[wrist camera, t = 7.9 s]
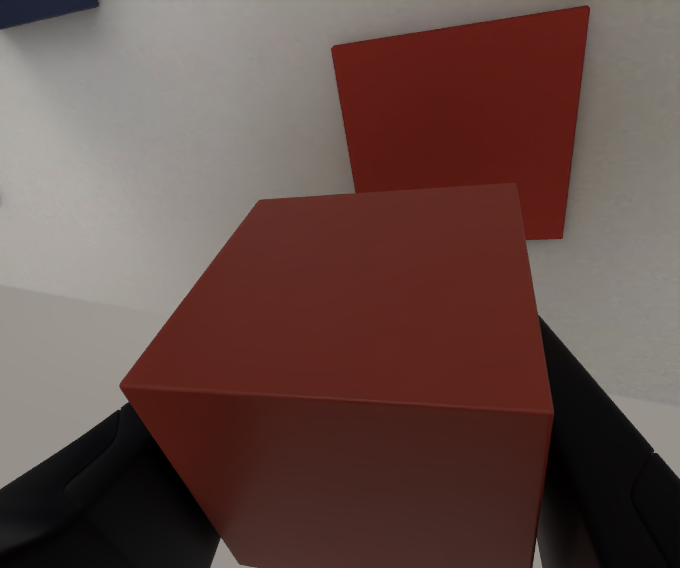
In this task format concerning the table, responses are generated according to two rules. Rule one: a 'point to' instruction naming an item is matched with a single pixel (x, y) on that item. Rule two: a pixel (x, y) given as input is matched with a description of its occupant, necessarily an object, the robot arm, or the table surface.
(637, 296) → the table surface
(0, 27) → the blue block
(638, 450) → the robot arm
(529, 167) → the red mat
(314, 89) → the table surface
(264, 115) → the table surface
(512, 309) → the red block
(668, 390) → the table surface
